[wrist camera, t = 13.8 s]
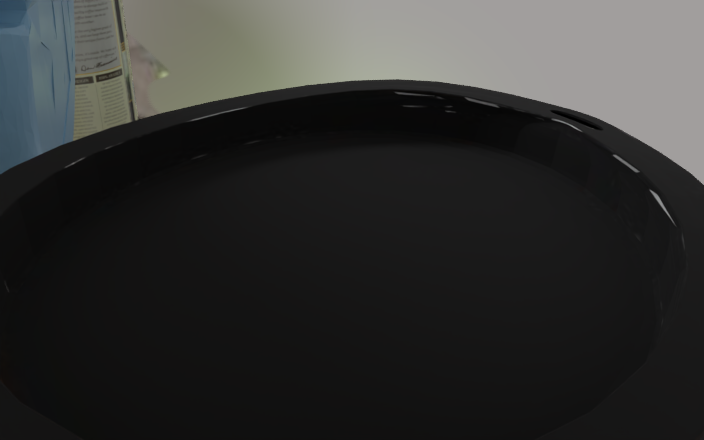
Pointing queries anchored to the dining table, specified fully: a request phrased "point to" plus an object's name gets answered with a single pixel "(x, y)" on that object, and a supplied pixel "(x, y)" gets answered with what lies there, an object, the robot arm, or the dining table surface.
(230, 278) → the coffee cup
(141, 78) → the dining table surface
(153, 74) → the dining table surface
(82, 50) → the coffee can
